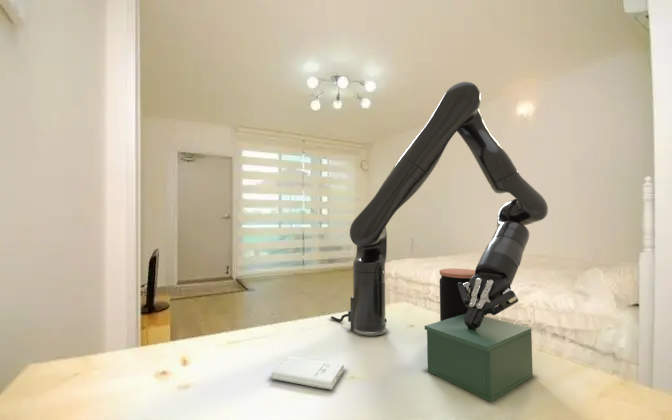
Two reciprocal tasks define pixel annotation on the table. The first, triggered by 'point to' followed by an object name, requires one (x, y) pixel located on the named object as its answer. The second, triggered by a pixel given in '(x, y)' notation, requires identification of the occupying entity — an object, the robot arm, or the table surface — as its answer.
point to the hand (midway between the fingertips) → (469, 326)
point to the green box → (481, 364)
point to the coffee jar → (453, 292)
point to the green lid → (479, 332)
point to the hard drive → (308, 372)
